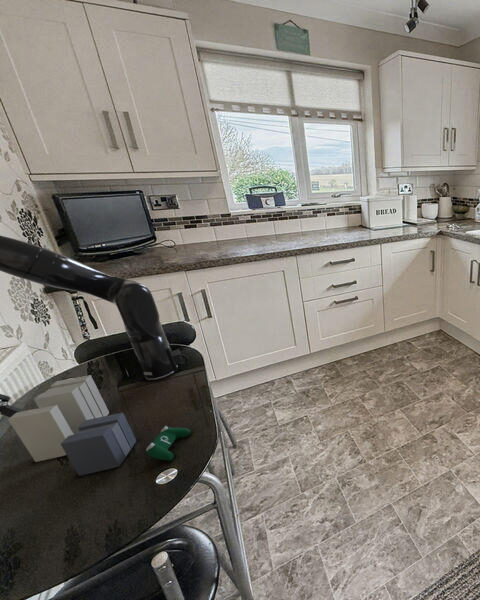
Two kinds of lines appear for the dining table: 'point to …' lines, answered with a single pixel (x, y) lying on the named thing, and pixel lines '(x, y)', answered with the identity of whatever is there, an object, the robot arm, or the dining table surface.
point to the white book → (42, 431)
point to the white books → (74, 400)
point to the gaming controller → (165, 442)
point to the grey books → (99, 444)
